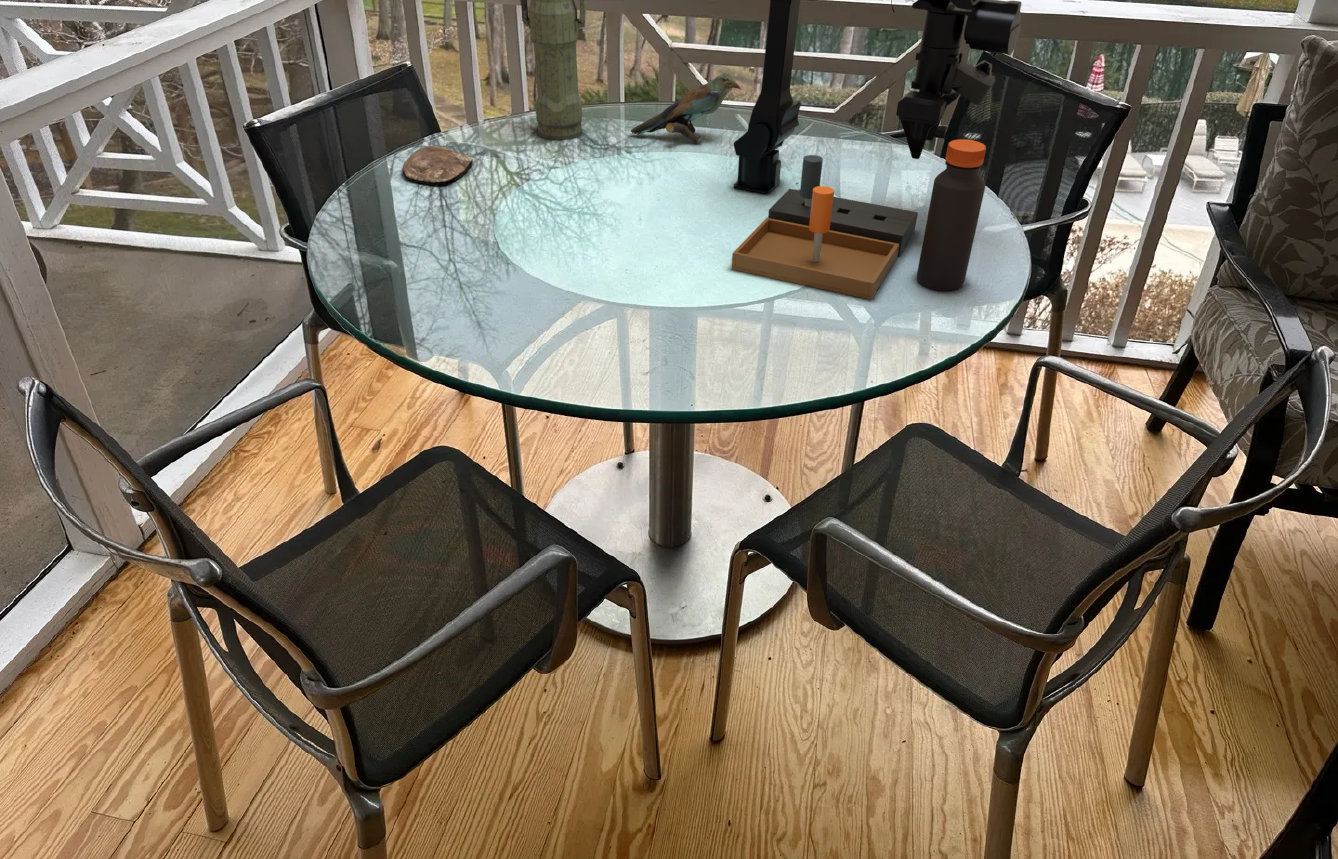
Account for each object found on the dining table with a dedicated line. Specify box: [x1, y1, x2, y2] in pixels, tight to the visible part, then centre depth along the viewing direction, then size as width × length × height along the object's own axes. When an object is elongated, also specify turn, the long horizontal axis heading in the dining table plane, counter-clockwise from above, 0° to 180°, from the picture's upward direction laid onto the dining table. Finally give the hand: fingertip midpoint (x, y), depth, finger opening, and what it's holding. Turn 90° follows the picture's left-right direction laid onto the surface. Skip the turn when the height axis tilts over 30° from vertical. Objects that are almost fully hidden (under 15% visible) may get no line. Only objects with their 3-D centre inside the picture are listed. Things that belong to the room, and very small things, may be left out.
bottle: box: [916, 138, 987, 292], centre depth 130 cm, size 7×7×20 cm
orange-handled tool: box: [809, 185, 835, 262], centre depth 137 cm, size 3×3×11 cm
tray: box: [731, 217, 899, 301], centre depth 139 cm, size 21×14×3 cm
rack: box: [767, 188, 919, 258], centre depth 149 cm, size 10×21×4 cm, turn 64°
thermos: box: [520, 0, 586, 141], centre depth 176 cm, size 9×12×35 cm
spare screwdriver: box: [799, 154, 824, 207], centre depth 148 cm, size 3×3×11 cm
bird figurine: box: [630, 72, 742, 145], centre depth 180 cm, size 13×10×20 cm
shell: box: [401, 145, 474, 186], centre depth 167 cm, size 12×13×4 cm
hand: (922, 148), depth 146 cm, fingers open, 9 cm apart
